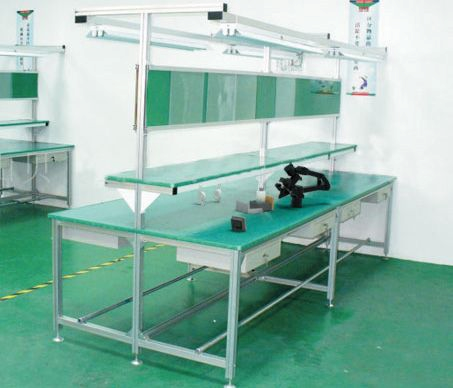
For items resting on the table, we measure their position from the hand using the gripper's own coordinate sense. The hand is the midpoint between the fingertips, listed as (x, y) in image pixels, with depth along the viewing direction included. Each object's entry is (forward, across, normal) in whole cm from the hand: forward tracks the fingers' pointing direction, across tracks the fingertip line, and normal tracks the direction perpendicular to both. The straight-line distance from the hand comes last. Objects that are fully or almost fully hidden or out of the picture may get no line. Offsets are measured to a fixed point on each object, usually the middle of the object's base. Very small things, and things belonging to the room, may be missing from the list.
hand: (278, 198), depth 430 cm
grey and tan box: (+15, 0, -6) cm, 16 cm away
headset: (+29, -31, -19) cm, 46 cm away
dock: (+21, 0, -12) cm, 24 cm away
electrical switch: (+49, +42, -39) cm, 75 cm away
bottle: (+14, 0, -7) cm, 16 cm away
